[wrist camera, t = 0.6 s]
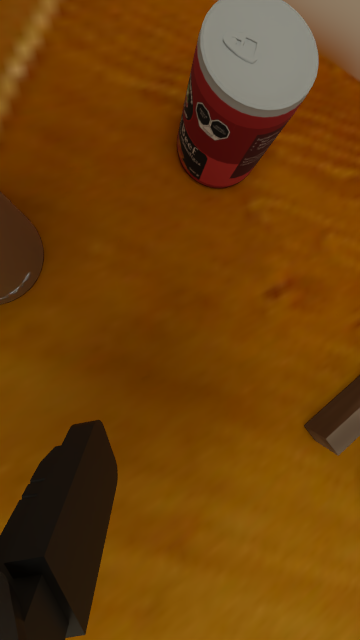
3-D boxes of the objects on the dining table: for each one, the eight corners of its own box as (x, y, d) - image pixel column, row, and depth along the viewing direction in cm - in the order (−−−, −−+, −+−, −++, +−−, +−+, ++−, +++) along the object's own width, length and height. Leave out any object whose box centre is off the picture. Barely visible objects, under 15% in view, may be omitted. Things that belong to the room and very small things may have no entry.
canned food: (175, 110, 28) (199, -23, 18) (253, 119, 30) (320, 0, 19) (174, 187, 28) (198, 101, 17) (252, 193, 30) (320, 117, 19)
